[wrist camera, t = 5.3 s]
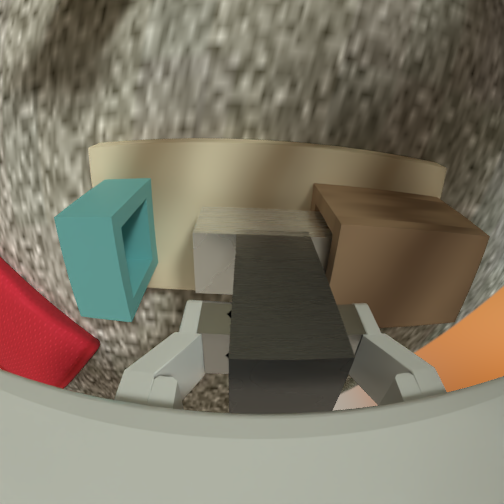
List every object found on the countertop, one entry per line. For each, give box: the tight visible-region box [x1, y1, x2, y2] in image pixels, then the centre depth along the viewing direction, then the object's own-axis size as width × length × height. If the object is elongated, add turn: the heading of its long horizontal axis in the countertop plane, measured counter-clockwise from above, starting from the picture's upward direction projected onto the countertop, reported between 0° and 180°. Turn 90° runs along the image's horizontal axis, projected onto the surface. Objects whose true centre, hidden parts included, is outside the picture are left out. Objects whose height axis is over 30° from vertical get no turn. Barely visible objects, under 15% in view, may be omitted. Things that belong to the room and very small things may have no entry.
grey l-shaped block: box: [192, 207, 355, 414], centre depth 12 cm, size 13×3×10 cm, turn 87°
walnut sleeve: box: [310, 183, 490, 328], centre depth 15 cm, size 8×5×5 cm, turn 87°
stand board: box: [88, 138, 447, 290], centre depth 18 cm, size 21×9×2 cm, turn 87°
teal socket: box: [54, 178, 158, 322], centre depth 14 cm, size 3×5×5 cm, turn 178°
